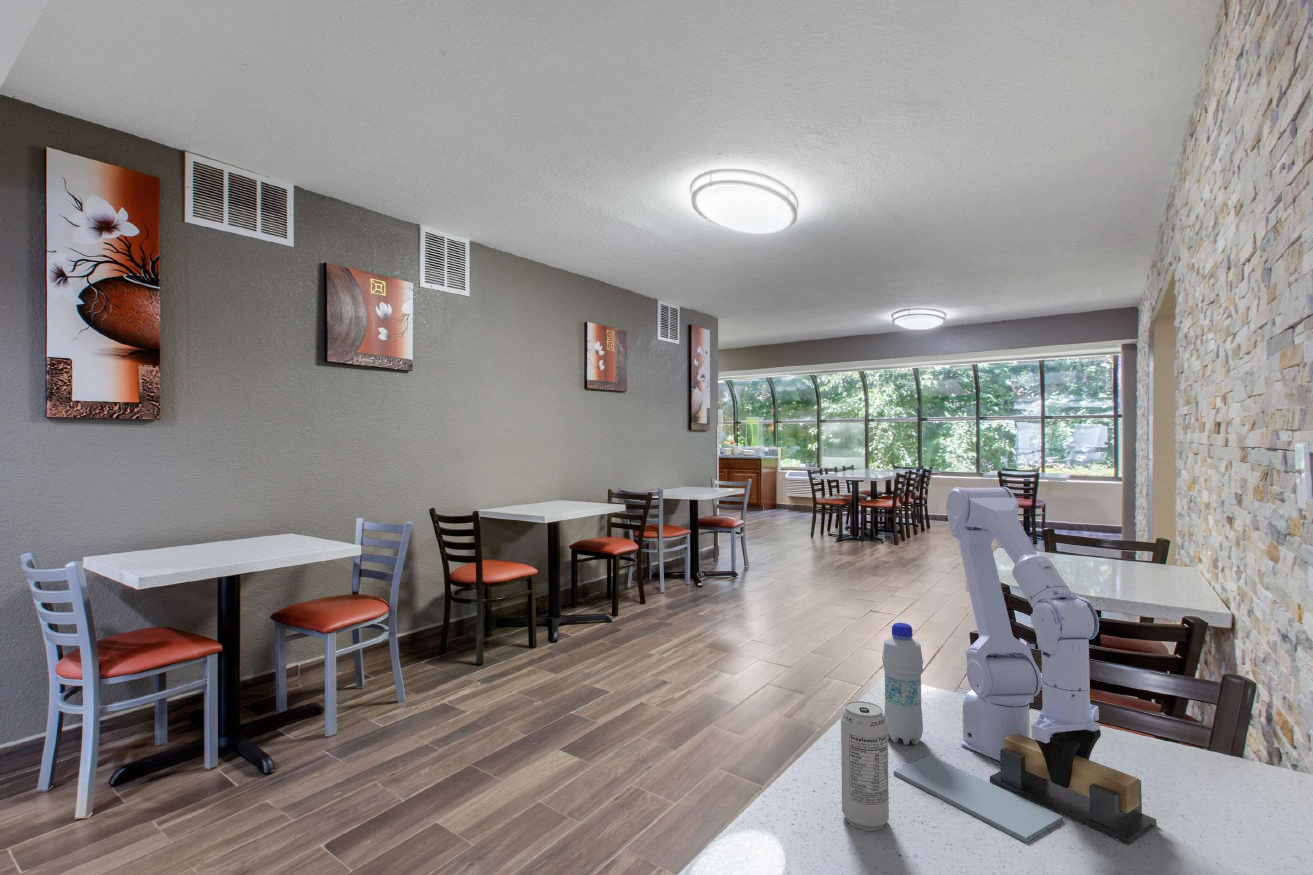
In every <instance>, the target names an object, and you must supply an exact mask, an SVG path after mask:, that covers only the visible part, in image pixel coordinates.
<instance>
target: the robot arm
mask: <svg viewBox="0 0 1313 875" xmlns="http://www.w3.org/2000/svg"><path fill="white" fill-rule="evenodd" d="M945 510H946V511H945V512H946V516H947V519H948V524H949V529H950V534H951V536H952V537H953V538H955V539H957V542H958V547H959V552H960V556H961V560H962V565H963V566H962V567H963V569H964V574H965V579H966V583H967V584H966V585H967V588H968V592H969V597H970V600H971V601H970V602H971V606H972V610H973V615H974V620H975V625H976V629H977V633H978V638H977V639H976V640H975V641H974V642H973V643H972V644H971V645H970V646H969V647H968V649H967V650H966V651H965V655H966V664H967V665H966V678H967V682H968V684H969V686H970V688H971V689H970V690H969V691H968V692H967V693H966V694H965V697H964V700H963V703H962V739H963V740H961V741H960V745H961V746H962V747H965V748H968V749H969V750H972V751H974V752H977V753H979V754H981V755H984V756H986V757H988V758H990V759H994V760H996V761H998V762H1000V749H1003V748H1004V738H1006V737H1009V736H1011V735H1013V734H1016V733H1018V734H1021V735H1024V736H1026V737H1029V738H1032V739H1034V740H1036V742H1037V744H1038V745H1039V747H1040V749H1041V751H1042V754H1043V756H1044V759H1045V762H1046V765H1047V769H1048V772H1049V776H1050V779H1051V782H1052V783H1054V784H1057V785H1059V786H1062V787H1064V788H1068V787H1069V785H1070V781H1071V774H1072V765H1073V760H1074V757H1075V755H1077V756H1080V757H1082V758H1085V759H1088V760H1090V757H1091V755H1092V752H1093V749H1094V747H1095V745H1096V744H1097V741H1098V740H1099V739H1100V738H1101V735H1102V730H1101V726H1100V725H1101V724H1100V723H1099V722H1097V721H1099V720H1100V717H1099V716H1100V712H1099V710H1100V708H1099V706H1098V705H1094V704H1092V703H1091V696H1090V695H1091V694H1090V693H1091V689H1090V688H1091V686H1090V684H1091V683H1090V681H1091V680H1090V644H1089V642H1090V641H1089V640H1093V639H1095V637H1096V636H1097V635H1098V633H1099V629H1100V622H1099V616H1098V612H1097V611H1096V609H1095V607H1094V605H1093V604H1092V602H1090V600H1089V599H1087V598H1085V597H1081V596H1080V595H1079V594H1078V593H1077V592H1075V591H1074V592H1073V591H1071V589H1070V587H1069V586H1068V585H1067V583H1066V581H1065V580H1064V579H1063V577H1062V576H1061V574H1060V573H1059V571H1058V570H1057V568H1056V567H1055V565H1054V564H1053V562H1052V561H1051V559H1050V558H1048V557H1047V556H1044V555H1038V553H1037V551H1036V549H1035V547H1034V546H1033V544H1032V542H1031V540H1030V538H1029V536H1028V534H1027V533H1026V531H1025V529H1024V526H1022V523H1021V522H1020V520H1019V518H1018V517H1019V510H1020V509H1019V501H1018V500H1017V499H1016V496H1015V494H1014V492H1013V491H1012V490H1011V489H1010V488H1009V487H1007V486H999V487H960V486H956V487H953V488H952V489H951V490H950V492H949V494H948V496H947V500H946V503H945ZM995 539H996V541H997V542H998V543H999V545H1001V547H1002V548H1003V550H1004V551H1005V553H1006V554H1007V555H1008V557H1009V559H1011V561H1012V562H1013V563H1014V566H1013V568H1012V572H1011V573H1012V576H1013V578H1014V580H1015V582H1016V583H1017V585H1018V586H1019V588H1020V590H1021V591H1022V593H1023V595H1024V596H1025V598H1026V600H1027V601H1028V603H1029V605H1030V606H1031V608H1032V613H1031V614H1030V621H1031V624H1032V628H1033V629H1034V632H1035V636H1036V644H1037V646H1038V647H1037V648H1039V650H1041V670H1040V668H1039V666H1038V665H1037V664H1036V661H1035V659H1034V657H1033V655H1032V654H1033V653H1032V650H1031V648H1030V647H1029V646H1028V645H1026V644H1025V643H1024V642H1022V641H1020V640H1019V639H1017V638H1016V637H1015V635H1014V634H1013V631H1012V626H1011V621H1010V617H1009V613H1008V609H1007V605H1006V601H1005V597H1004V596H1005V595H1004V592H1003V589H1002V584H1001V580H1000V576H999V572H998V568H997V563H996V560H995V555H994V552H993V546H992V543H993V542H994V540H995ZM987 656H994V657H987ZM995 656H996V657H995ZM997 656H998V657H997ZM1041 691H1042V692H1041ZM1040 692H1041V693H1042V694H1041V695H1042V696H1041V697H1042V700H1041V701H1042V709H1040V711H1039V714H1038V716H1037V718H1036V720H1035V721H1034V722H1032V723H1031V725H1030V704H1031V703H1034V697H1036V696H1037V695H1039V693H1040ZM1030 729H1031V732H1030ZM1030 735H1031V736H1030Z"/></svg>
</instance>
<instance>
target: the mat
mask: <svg viewBox="0 0 1313 875" xmlns="http://www.w3.org/2000/svg"><path fill="white" fill-rule="evenodd" d="M893 776H897V777H898V778H900V779H902V780H904V781H906V782H908V783H909V784H912V785H914V786H915V787H918V788H920V789H922V790H924V791H925V792H927V793H929V794H931V795H933V796H935V797H937V798H939V799H941V800H943V801H944V802H947V803H948V804H950V805H953V806H955V807H956V808H958V809H960V810H962V811H964V812H966V813H967V814H970V815H971V816H973V817H976V818H978V819H980V820H982V821H983V822H986V823H987V824H989V825H991V826H993V827H995V828H998V829H999V830H1001V831H1003V832H1005V833H1007V834H1008V835H1010V836H1013V837H1014V838H1017V839H1018V840H1020V841H1021V842H1022V841H1023V842H1024V843H1027V842H1030V841H1031V840H1033V839H1035V838H1036V837H1038V836H1039V835H1040V836H1041V834H1044V832H1047V831H1048V830H1050V829H1052V828H1054V827H1055V826H1056V825H1058V824H1060V823H1062V822H1064V817H1063V816H1064V815H1062V814H1060V813H1057V812H1055V811H1053V810H1051V809H1049V808H1046V807H1044V806H1042V805H1040V804H1038V803H1036V802H1033V801H1031V800H1029V799H1027V798H1025V797H1022V796H1020V795H1018V794H1016V793H1014V792H1011V791H1009V790H1007V789H1005V788H1003V787H1000V786H998V785H996V784H994V783H992V782H990V781H986V780H984V779H982V778H980V777H978V776H975V775H974V774H971V773H969V772H968V771H964V770H963V769H960V768H958V767H957V766H954V765H952V764H949V763H947V762H945V761H943V760H941V759H938V758H936V757H935V756H932V755H929V756H926V757H924V758H921V759H918V760H916V761H914V762H911V763H909V764H908V763H907V764H906V765H903V766H901V767H899V768H896V769H894V770H893Z"/></svg>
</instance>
